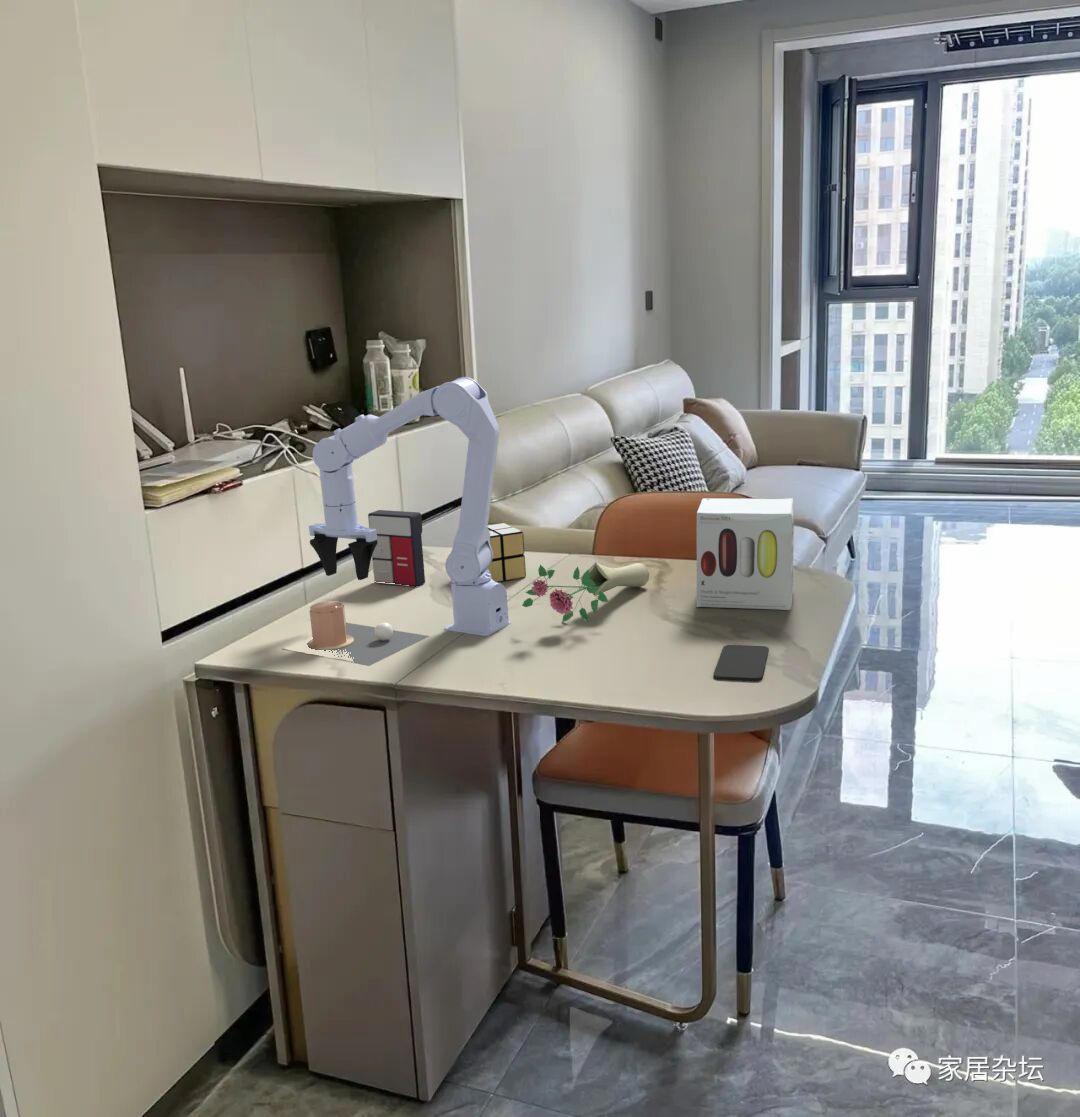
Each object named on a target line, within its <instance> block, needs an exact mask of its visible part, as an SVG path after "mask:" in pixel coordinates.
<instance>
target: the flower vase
mask: <svg viewBox="0 0 1080 1117" xmlns="http://www.w3.org/2000/svg"><path fill="white" fill-rule="evenodd" d="M537 571H538V575H539V577H544V579H545V580H543V579H540V580H539V579H536V580H534V581H533V582H532V586H531V589H529V590H527V591H525V593H526V594H528V595H530V596H537V598H535V599H534V600H533V599H532V598H531V597H528V598H526V599H525V600H523V603H522V605H521V607H524V608H528V607H531V606H533V603H534V602H535V601H536V600H537V599H539V598H541V597H544V596H546V595H547V593H548V591H549V590H551V589H552V588H554V587H555V589H554V590H552V592H551V593H549V594H550V595H549V600H550V601H549V602H550V606H551V608H552V609H553V611H555V612H557V613H558V614H561V615H563V617H562V623H564V622H567V621H569V620H570V619H571V618H572V617H573V616H574V611H575V609H576V608H577V605H578V603H580V605H581V608H580V609H579V611H578V612H579V615H580V616H581V617H582V619H584V620H585V621H587V622H589V616H588V613H587V611H586V608H583V605H582V604H581V601H580V600H581V598H582V596H583V594H584V593H585V591H586V592H588V593H589V594H592V595H593V596H594V597H596V599H593V600H591V601H590V607H591V610H592V612H594V614H595V613H596V612H597V610H598V608H599V607H598V606H599V601H600V602H602V603H604V602H605V603H609V600H608V597H607V594H605V592H607V591H610V590H612V589H615V588H616V587H629V588H642V587H645V586H646V584H647V583H648V582H649V581H650V571H649V569H648V567H647V566H646V565H645V564H643V563H639V562H635V563H632V564H629V565H625V566H624V565H623V566H620V567H615V568H614V567H607V566H605V565H602V564H600V563H598V562H594V564H592V565H591V566H590V567H589V568H588V569H586V571H585V572H583V575H581V577H580V569H579V566H577V567H576V568H575V569H574V571H573V576H572V579H574V580H576V581H577V583H578V585H554V584H553V585H548V579H549V580H551V578H552V577H553V576H554V574H555V572H556V570H554V569H549V570H546V569H545V567H544V566H542V564H539V567H538V570H537ZM546 576H547V578H546ZM542 580H543V581H542ZM579 580H581V585H580V582H579ZM557 588H578V590H575V591H573V592H571V593H567V591H563V589H559V590H558V589H557ZM581 591H583V592H582V594H581V595H580V597H579V598H578V601H577V602H576V605H575V607H574V608H573V603H574V602H573V601H571V600H572V599H573V598H574V595H575V594H577V593H579V592H581Z"/></svg>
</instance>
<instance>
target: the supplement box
mask: <svg viewBox="0 0 1080 1117" xmlns="http://www.w3.org/2000/svg"><path fill="white" fill-rule="evenodd" d="M794 527H795V507H794V498H793V497H789V498H783V497H781V498H780V497H779V498H778V497H777V498H776V497H773V498H772V497H771V498H769V497H768V498H767V497H766V498H765V497H764V498H760V497H759V498H757V497H749V498H747V497H743V498H741V497H739V498H738V497H737V498H736V497H735V498H734V497H732V498H731V497H730V498H728V497H727V498H725V497H723V498H721V497H720V498H719V497H718V498H716V497H715V498H714V497H712V498H710V497H709V498H706V497H705V498H704V497H703V498H702V499H701V501H700V504H699V506H698V509H697V512H696V608H721V609H722V608H723V609H725V608H726V609H753V610H754V609H756V610H779V611H781V610H782V611H791V610H792V605H793V596H792V595H793V594H794V539H795V537H794V533H795V532H794V531H795V528H794Z"/></svg>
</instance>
